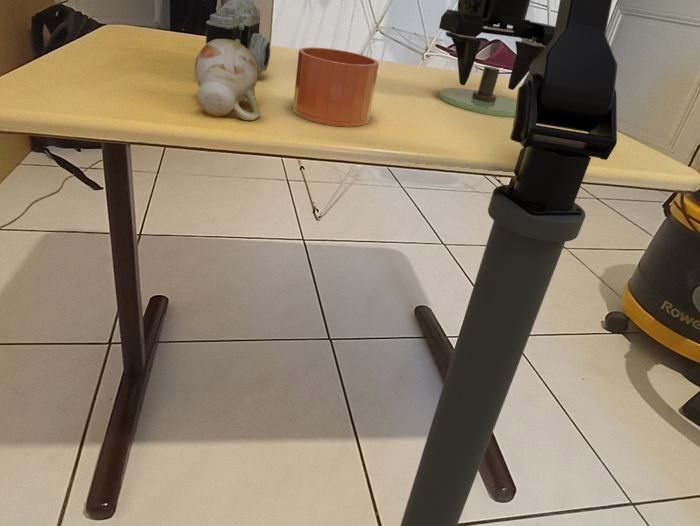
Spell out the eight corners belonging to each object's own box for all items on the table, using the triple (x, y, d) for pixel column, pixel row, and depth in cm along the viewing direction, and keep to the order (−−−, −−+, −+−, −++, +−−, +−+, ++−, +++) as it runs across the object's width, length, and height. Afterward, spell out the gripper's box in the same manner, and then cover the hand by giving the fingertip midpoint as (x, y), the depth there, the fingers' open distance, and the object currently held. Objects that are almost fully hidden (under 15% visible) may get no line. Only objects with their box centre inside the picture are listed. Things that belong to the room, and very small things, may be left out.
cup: (380, 128, 67) (391, 68, 64) (305, 124, 64) (312, 60, 60) (352, 106, 75) (361, 52, 71) (284, 102, 71) (290, 44, 68)
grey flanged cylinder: (500, 103, 89) (508, 71, 86) (480, 101, 87) (488, 69, 85) (487, 96, 92) (495, 66, 89) (467, 95, 90) (475, 64, 88)
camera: (250, 91, 73) (256, 9, 68) (200, 82, 73) (202, -1, 68) (274, 72, 86) (280, 2, 81) (231, 64, 86) (234, -7, 81)
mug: (180, 119, 59) (172, 23, 59) (210, 137, 68) (204, 55, 68) (249, 112, 58) (242, 16, 58) (270, 132, 68) (264, 49, 68)
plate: (544, 119, 87) (545, 114, 86) (467, 114, 82) (469, 108, 81) (494, 95, 98) (495, 91, 98) (424, 89, 93) (425, 84, 92)
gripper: (533, -19, 91) (506, 79, 98) (434, -37, 84) (412, 70, 91) (579, -11, 82) (545, 96, 89) (472, -31, 75) (445, 87, 83)
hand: (486, 87), depth 88 cm, fingers open, 9 cm apart
